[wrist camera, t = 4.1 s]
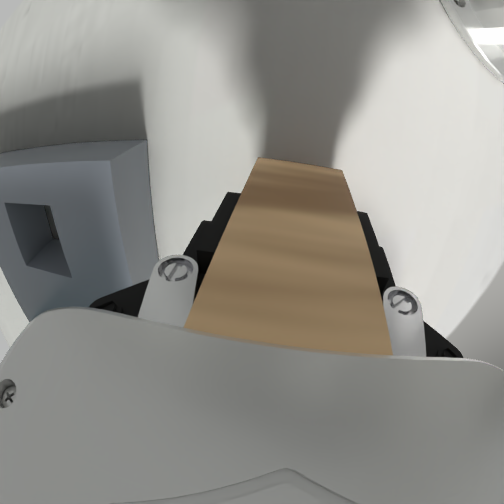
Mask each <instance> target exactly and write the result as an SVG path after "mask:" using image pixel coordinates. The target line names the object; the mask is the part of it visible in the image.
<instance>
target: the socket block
mask: <svg viewBox="0 0 504 504" xmlns="http://www.w3.org/2000/svg"><path fill="white" fill-rule="evenodd" d="M44 205H49V206H50V208H51V211H52V215H53V219H54V223H55V226H56V230H57V233H58V236H59V239H53V236H52V233H51V230H50V226H49V223H48V219H47V216H46V212H45V208H44ZM158 261H159V258H158V252H157V244H156V237H155V229H154V221H153V212H152V202H151V192H150V180H149V166H148V150H147V140H118V141H98V142H83V143H71V144H61V145H52V146H44V147H36V148H29V149H23V150H16V151H11V152H5V153H0V267H1V269H2V271H3V273H4V275H5V277H6V279H7V282H8V284H9V286H10V288H11V290H12V292H13V293H14V295H15V297H16V299H17V301H18V303H19V305H20V306H21V308H22V310H23V312H24V314H25V315H26V317H27V319H28V320H29V322H31V321H32V320H33V319H34V318H35V317H37V316H38V315H39V314H41V313H43V312H45V311H47V310H51V309H55V308H60V307H89V306H90V305H91V304H92V303H93V302H94V301H95V300H97V299H99V298H101V297H104V296H106V295H109V294H111V293H114V292H117V291H119V290H122V289H125V288H127V287H130V286H133V285H135V284H138V283H140V282H143V281H146V280H148V279H150V277H151V274H152V271H153V268H154V266H155V265H156V263H157V262H158Z"/></svg>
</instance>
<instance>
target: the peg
mask: <svg viewBox="0 0 504 504" xmlns="http://www.w3.org/2000/svg"><path fill="white" fill-rule="evenodd" d="M184 328H188V329H193V330H197V331H202V332H208V333H213V334H218V335H224V336H229V337H235V338H241V339H247V340H253V341H259V342H266V343H272V344H279V345H287V346H294V347H302V348H311V349H320V350H329V351H340V352H351V353H363V354H377V355H393V352H392V347H391V341H390V336H389V331H388V326H387V321H386V316H385V312H384V307H383V303H382V298H381V294H380V290H379V286H378V282H377V278H376V274H375V271H374V267H373V263H372V260H371V256H370V252H369V249H368V246H367V242H366V239H365V236H364V232H363V229H362V226H361V223H360V220H359V217H358V214H357V211H356V208H355V205H354V202H353V199H352V196H351V193H350V190H349V188H348V185H347V182H346V179H345V177H344V174H343V171H342V170H338V169H332V168H327V167H321V166H315V165H309V164H303V163H297V162H290V161H283V160H275V159H268V158H260V157H258V159H257V161H256V163H255V165H254V167H253V169H252V171H251V173H250V176H249V178H248V180H247V182H246V184H245V186H244V189H243V191H242V193H241V195H240V197H239V199H238V202H237V204H236V206H235V208H234V211H233V213H232V215H231V217H230V219H229V222H228V224H227V226H226V228H225V231H224V233H223V235H222V237H221V240H220V242H219V244H218V247H217V249H216V251H215V253H214V256H213V258H212V260H211V263H210V265H209V267H208V270H207V272H206V274H205V277H204V279H203V282H202V284H201V286H200V289H199V291H198V293H197V296H196V298H195V301H194V303H193V305H192V308H191V310H190V313H189V315H188V318H187V320H186V323H185V325H184Z"/></svg>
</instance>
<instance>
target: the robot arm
mask: <svg viewBox="0 0 504 504" xmlns="http://www.w3.org/2000/svg"><path fill="white" fill-rule="evenodd" d="M440 1H441V3H442V5H443V6H444V8H445V10H446V12H447V14H448V16H449V18H450V19H451V21H452V23H453V24H454V26H455V27H456V29H457V31H458V32H459V34H460V36H461V37H462V38H463V40H464V41H465V42H466V44H467V45H468V46H469V48H470V49H471V51H472V52H473V53H474V54H475V56H476V57H477V58H478V59H479V60H480V61H481V62H482V64H483V65H484V66H485V67H486V68H487V69H488V70H489V71H490V72H491V73H492V74H493V75H494V76H495V77H496V78H497V79H498V80H500V81H501V82H503V83H504V0H440ZM240 195H241V193H232V192H227V194H226V196H225V198H224V199H223V201H222V203H221V205H220V207H219V209H218V210H217V212H216V214H215V216H214V218H213V220H212V221H205V220H204V221H202V222H201V224H200V226H199V227H198V229H197V231H196V233H195V234H194V236H193V238H192V239H191V241H190V243H189V245H188V247H187V248H186V250H185V252H184V254H183V255H171V256H167V257H165V258H163V259H161V260H160V261H158V262H157V263H156V265H155V266H154V268H153V271H152V274H151V277H150V279H148V280H146V281H143V282H140V283H138V284H135V285H133V286H130V287H127V288H125V289H122V290H119V291H117V292H114V293H111V294H109V295H106V296H104V297H101V298H99V299H97V300H95V301H94V302H93V303H92V304H91V305H90V306H89V307H60V308H55V309H51V310H47V311H45V312H43V313H41V314H39V315H38V316H37V317H35V318H34V319H33V320H32V321H31V322H30V323H29V324H28V325H27V326H26V327H25V329H24V330H23V331H22V332H21V334H20V335H19V336H18V337H17V339H16V340H15V342H14V343H13V345H12V346H11V347H10V349H9V351H8V352H7V354H6V356H5V357H4V359H3V360H2V362H1V363H0V504H504V371H503V370H502V369H500V368H498V367H496V366H494V365H492V364H489V363H487V362H483V361H479V360H474V359H466V358H463V356H462V354H461V352H460V351H459V350H458V349H457V348H456V347H455V346H453V345H452V344H451V343H450V342H449V341H447V340H446V339H445V338H444V337H443V336H441V335H440V334H439V333H438V332H437V331H435V330H434V329H433V328H432V327H430V326H429V325H428V324H427V323H425V322H424V321H423V314H422V307H421V303H420V301H419V299H418V298H417V297H416V296H415V295H414V294H413V293H412V292H410V291H409V290H407V289H405V288H402V287H396V286H395V283H394V280H393V277H392V273H391V270H390V267H389V264H388V261H387V258H386V255H385V253H384V250H383V248H382V247H379V245H378V242H377V239H376V236H375V233H374V231H373V228H372V225H371V222H370V220H369V217H368V215H367V213H364V212H359V211H357V214H358V217H359V220H360V223H361V226H362V229H363V232H364V236H365V239H366V242H367V246H368V249H369V252H370V256H371V260H372V263H373V267H374V271H375V274H376V278H377V282H378V286H379V290H380V294H381V298H382V303H383V307H384V312H385V316H386V321H387V326H388V331H389V336H390V341H391V347H392V352H393V355H377V354H363V353H351V352H340V351H329V350H320V349H311V348H302V347H294V346H287V345H279V344H272V343H266V342H259V341H253V340H247V339H241V338H235V337H229V336H224V335H218V334H213V333H208V332H202V331H197V330H193V329H188V328H184V325H185V323H186V320H187V318H188V315H189V313H190V310H191V308H192V305H193V303H194V301H195V298H196V296H197V293H198V291H199V289H200V286H201V284H202V282H203V279H204V277H205V274H206V272H207V270H208V267H209V265H210V263H211V260H212V258H213V256H214V253H215V251H216V249H217V247H218V244H219V242H220V240H221V237H222V235H223V233H224V231H225V228H226V226H227V224H228V222H229V219H230V217H231V215H232V213H233V211H234V208H235V206H236V204H237V202H238V199H239V197H240Z"/></svg>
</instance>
